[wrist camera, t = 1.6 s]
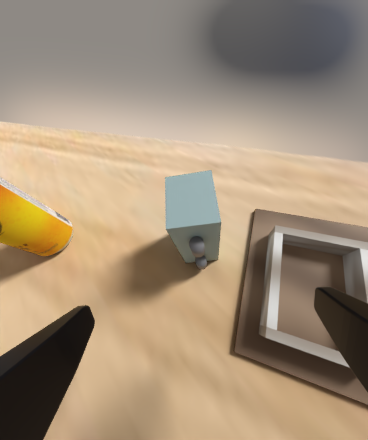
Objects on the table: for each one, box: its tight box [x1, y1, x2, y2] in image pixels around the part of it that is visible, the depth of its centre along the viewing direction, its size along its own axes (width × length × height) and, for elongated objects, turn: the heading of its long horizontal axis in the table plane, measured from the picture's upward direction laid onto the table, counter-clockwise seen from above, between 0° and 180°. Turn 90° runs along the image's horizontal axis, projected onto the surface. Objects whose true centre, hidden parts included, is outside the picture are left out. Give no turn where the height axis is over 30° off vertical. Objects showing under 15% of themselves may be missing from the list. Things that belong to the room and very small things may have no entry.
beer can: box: [0, 177, 73, 256], centre depth 19 cm, size 6×6×15 cm
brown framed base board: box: [234, 209, 368, 405], centre depth 17 cm, size 16×12×3 cm
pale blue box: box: [165, 170, 221, 269], centre depth 17 cm, size 6×4×10 cm, turn 4°
